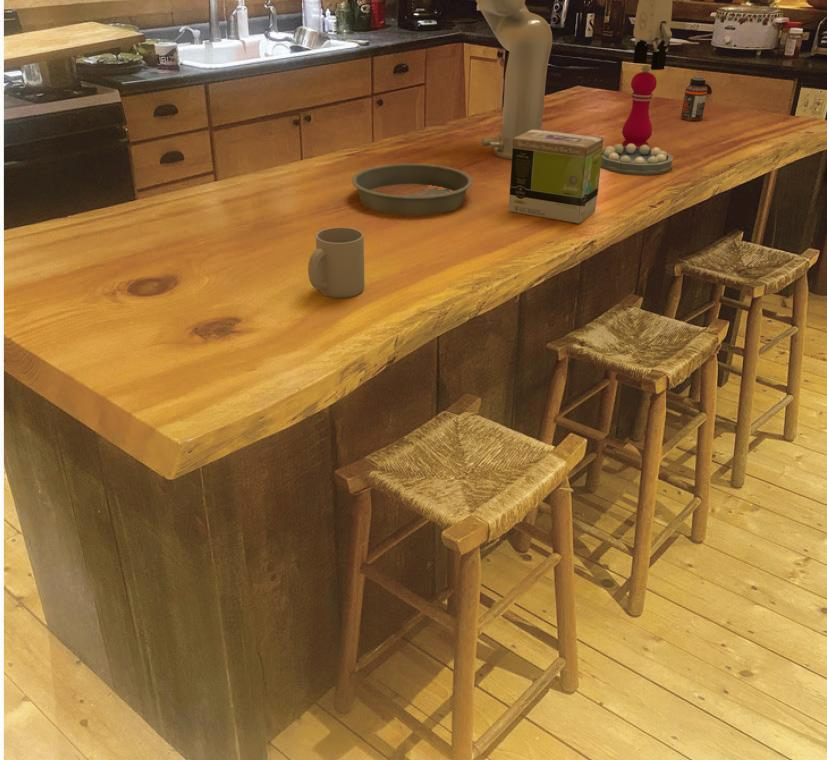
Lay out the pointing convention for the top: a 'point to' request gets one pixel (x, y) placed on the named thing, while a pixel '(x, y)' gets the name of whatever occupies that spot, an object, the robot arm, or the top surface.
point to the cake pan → (415, 202)
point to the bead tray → (634, 166)
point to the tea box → (555, 175)
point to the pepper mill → (640, 109)
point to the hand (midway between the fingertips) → (648, 66)
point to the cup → (338, 262)
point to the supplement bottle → (694, 100)
